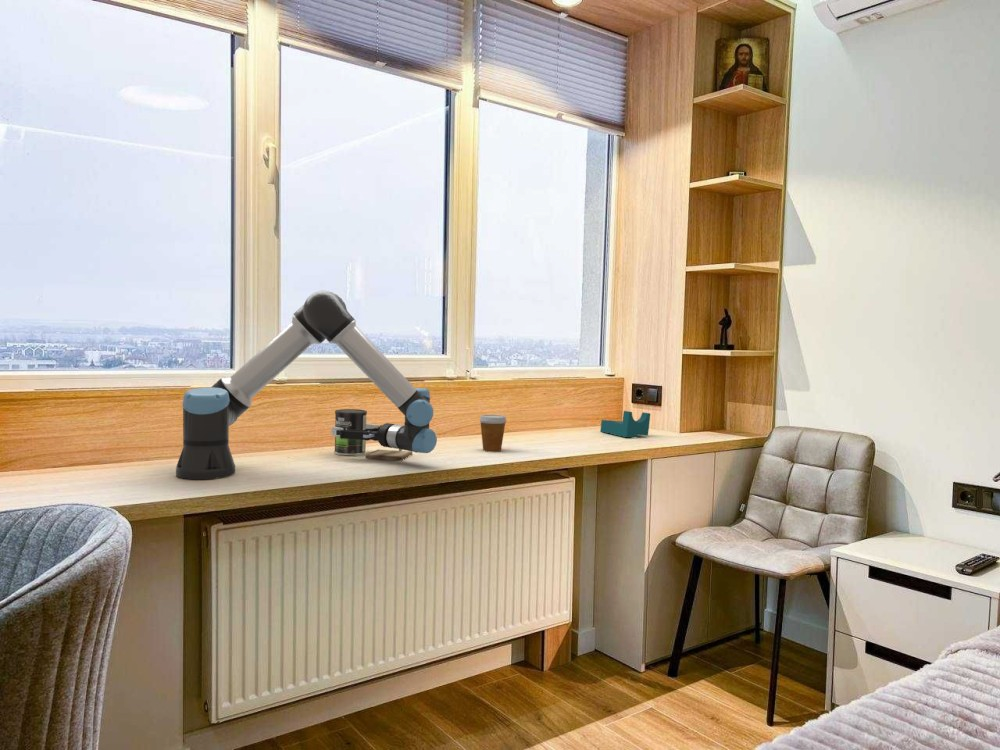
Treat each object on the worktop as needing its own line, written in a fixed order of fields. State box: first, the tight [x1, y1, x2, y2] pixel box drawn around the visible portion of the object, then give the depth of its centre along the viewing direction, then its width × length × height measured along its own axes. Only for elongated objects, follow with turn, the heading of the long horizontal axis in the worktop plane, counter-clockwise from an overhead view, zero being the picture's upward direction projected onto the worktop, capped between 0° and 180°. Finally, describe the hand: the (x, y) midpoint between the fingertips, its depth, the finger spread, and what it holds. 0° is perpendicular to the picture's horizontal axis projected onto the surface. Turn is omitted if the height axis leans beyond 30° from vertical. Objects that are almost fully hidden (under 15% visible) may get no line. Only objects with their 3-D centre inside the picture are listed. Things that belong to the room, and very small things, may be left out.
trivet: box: [365, 449, 413, 461], centre depth 242 cm, size 12×12×1 cm
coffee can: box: [334, 408, 368, 456], centre depth 245 cm, size 10×10×14 cm
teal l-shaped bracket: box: [599, 410, 651, 438], centre depth 309 cm, size 18×11×10 cm, turn 28°
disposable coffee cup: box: [478, 414, 508, 452], centre depth 260 cm, size 10×10×12 cm
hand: (348, 429), depth 246 cm, fingers open, 13 cm apart
